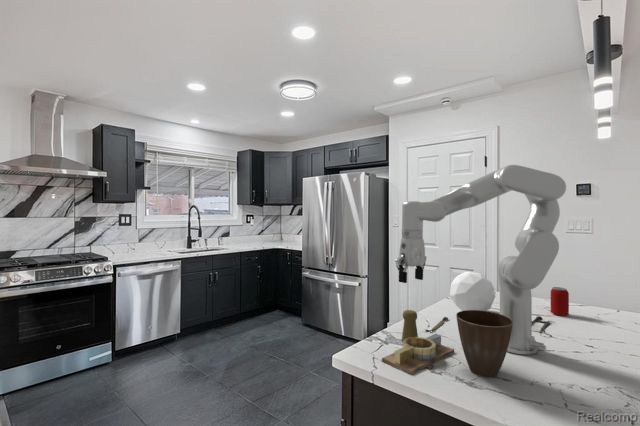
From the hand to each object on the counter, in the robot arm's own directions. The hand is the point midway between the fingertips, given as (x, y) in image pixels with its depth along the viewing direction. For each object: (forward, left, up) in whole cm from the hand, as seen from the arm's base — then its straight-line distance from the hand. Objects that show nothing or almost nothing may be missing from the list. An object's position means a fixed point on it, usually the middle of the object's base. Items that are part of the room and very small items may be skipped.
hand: (411, 280), depth 121 cm
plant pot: (-28, +4, -22) cm, 36 cm away
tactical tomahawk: (+1, -22, -22) cm, 31 cm away
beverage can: (-25, -78, -22) cm, 85 cm away
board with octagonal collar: (-10, +10, -22) cm, 26 cm away
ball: (+2, -50, -22) cm, 55 cm away
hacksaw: (-26, -53, -22) cm, 63 cm away
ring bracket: (-10, +10, -22) cm, 26 cm away
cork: (0, +1, -22) cm, 22 cm away
